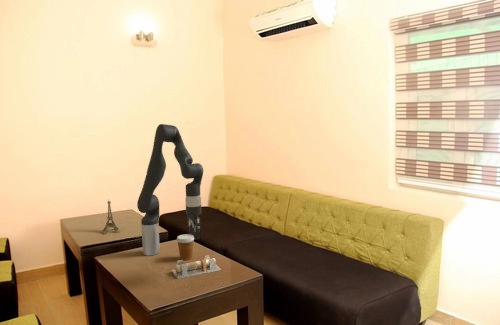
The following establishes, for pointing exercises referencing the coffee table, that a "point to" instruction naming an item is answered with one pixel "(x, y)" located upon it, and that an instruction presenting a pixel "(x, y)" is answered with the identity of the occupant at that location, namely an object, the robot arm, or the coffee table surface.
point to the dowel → (193, 265)
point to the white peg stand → (185, 273)
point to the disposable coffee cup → (185, 246)
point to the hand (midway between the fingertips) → (194, 236)
